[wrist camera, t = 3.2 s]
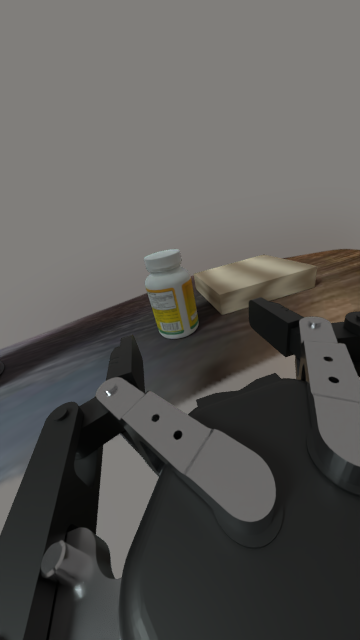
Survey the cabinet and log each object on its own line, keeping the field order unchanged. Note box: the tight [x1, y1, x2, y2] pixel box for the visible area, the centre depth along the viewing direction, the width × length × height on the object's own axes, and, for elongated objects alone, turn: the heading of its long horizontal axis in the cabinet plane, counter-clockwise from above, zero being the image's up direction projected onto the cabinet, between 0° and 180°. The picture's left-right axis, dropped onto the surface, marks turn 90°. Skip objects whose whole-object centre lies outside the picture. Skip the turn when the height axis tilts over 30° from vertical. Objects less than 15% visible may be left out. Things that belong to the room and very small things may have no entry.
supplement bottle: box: [144, 249, 199, 339], centre depth 23 cm, size 5×5×10 cm
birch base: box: [194, 255, 317, 315], centre depth 31 cm, size 14×12×3 cm
